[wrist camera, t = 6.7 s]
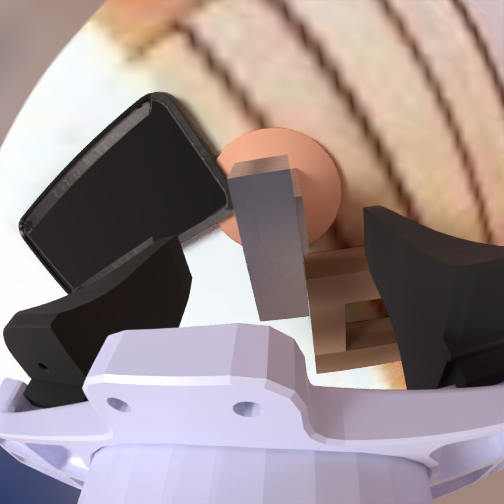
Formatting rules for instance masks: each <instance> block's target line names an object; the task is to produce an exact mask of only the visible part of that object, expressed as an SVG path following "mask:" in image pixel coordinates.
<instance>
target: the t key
mask: <svg viewBox="0 0 504 504" xmlns="http://www.w3.org/2000/svg"><path fill="white" fill-rule="evenodd" d="M227 182H228V186H229V191H230V195H231V199H232V204H233V208H234V212H235V217H236V221H237V225H238V229H239V234H240V238H241V242H242V246H243V251H244V255H245V259H246V263H247V268H248V272H249V276H250V280H251V285H252V289H253V293H254V297H255V301H256V306H257V310H258V314H259V318H260V321H269V320H279V319H288V318H297V317H306V316H309V307H308V297H307V287H306V279H305V270H304V262H303V254H309V245H308V236H307V228H306V220H305V213H304V205H303V198H302V192H301V187H300V182H299V177H298V173H297V168H293V169H290V165H289V158H288V155H281V156H274V157H267V158H261V159H255V160H249V161H243V162H237V163H234V165H233V167H232V169H231V171H230V173H229V175H228V177H227Z"/></svg>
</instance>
